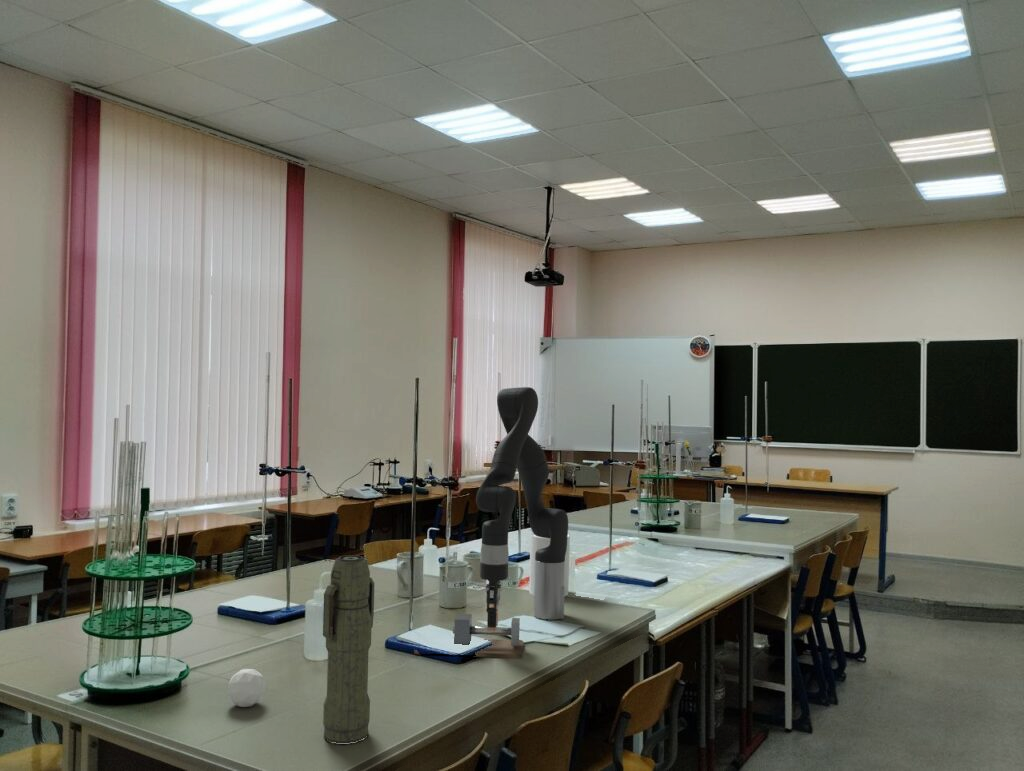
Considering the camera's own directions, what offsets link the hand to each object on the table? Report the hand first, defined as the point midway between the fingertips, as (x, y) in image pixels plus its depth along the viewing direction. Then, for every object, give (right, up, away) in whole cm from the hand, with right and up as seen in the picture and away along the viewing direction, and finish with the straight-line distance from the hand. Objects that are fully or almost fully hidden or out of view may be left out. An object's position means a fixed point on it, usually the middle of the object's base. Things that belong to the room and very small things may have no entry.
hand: (492, 623), depth 214 cm
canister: (+18, -9, +64) cm, 67 cm away
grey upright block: (-8, -6, 0) cm, 10 cm away
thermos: (-28, -6, -56) cm, 63 cm away
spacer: (0, -1, 0) cm, 1 cm away
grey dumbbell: (-2, -5, 0) cm, 5 cm away
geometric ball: (-52, -5, -42) cm, 67 cm away
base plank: (-6, -7, 0) cm, 9 cm away
